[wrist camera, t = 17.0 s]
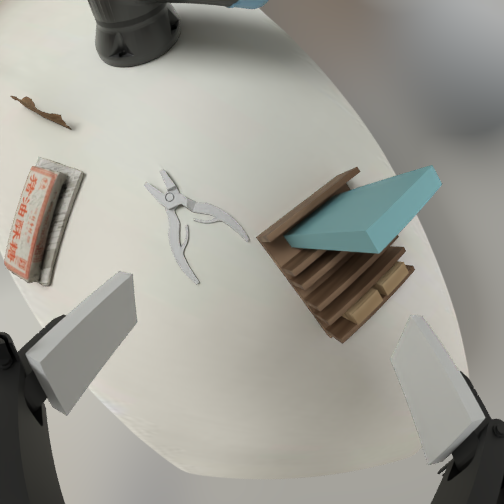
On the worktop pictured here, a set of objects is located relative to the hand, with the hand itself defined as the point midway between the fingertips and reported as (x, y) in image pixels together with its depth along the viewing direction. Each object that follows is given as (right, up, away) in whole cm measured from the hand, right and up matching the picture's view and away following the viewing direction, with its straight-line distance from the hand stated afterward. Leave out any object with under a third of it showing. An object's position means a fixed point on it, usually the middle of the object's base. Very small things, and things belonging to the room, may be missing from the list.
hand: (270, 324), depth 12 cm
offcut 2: (+18, 0, +29) cm, 34 cm away
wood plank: (-35, +26, +19) cm, 48 cm away
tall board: (+8, +8, +27) cm, 29 cm away
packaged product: (-33, +8, +21) cm, 40 cm away
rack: (+12, +2, +28) cm, 31 cm away
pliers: (-10, +8, +25) cm, 28 cm away
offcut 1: (+14, -4, +28) cm, 31 cm away
